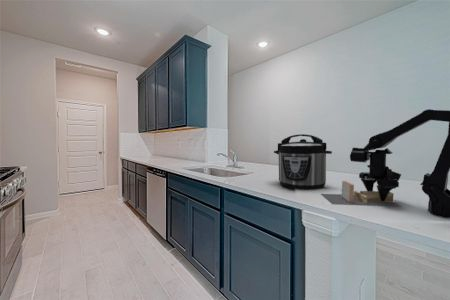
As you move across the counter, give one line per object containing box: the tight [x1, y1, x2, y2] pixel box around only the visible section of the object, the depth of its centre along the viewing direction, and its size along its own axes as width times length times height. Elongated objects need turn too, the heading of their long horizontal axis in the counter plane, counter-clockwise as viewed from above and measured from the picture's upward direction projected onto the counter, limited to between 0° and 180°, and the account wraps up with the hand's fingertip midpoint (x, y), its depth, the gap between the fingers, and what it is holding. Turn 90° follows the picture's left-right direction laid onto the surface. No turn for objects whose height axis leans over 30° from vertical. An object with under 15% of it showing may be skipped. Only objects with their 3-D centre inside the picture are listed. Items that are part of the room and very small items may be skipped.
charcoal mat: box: [320, 193, 403, 208], centre depth 91 cm, size 16×27×1 cm, turn 81°
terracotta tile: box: [341, 180, 355, 203], centre depth 90 cm, size 8×2×8 cm, turn 171°
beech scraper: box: [354, 190, 394, 204], centre depth 89 cm, size 9×13×4 cm
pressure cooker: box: [273, 134, 333, 190], centre depth 121 cm, size 30×28×32 cm
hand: (376, 197), depth 89 cm, fingers open, 9 cm apart
